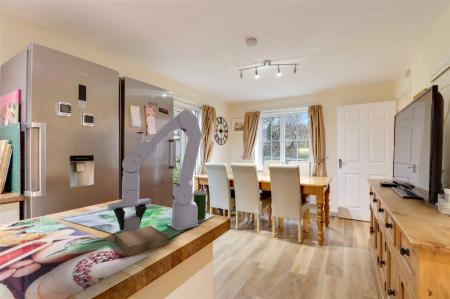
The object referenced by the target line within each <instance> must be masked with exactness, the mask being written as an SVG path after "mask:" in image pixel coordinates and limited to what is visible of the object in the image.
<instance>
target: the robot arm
mask: <svg viewBox="0 0 450 299" xmlns="http://www.w3.org/2000/svg"><path fill="white" fill-rule="evenodd" d="M176 130H181V131H183V132H184V134H185V136H186V137H187V141H186V147H185V150H184V155H183V160H182V163H181V168H180V173H179V177H178V179H176V180H177V181H176V184H175V186H174V187H173V188H172V196H173V197H174V199H173V201H172V212H171V223H167V224H166V225H167V226H168V227H170V228H172V229H174V230H176V231H179V232H180V231H183V230H186V229H187V230H188V229H190V228H194V227H197V226H199V225H200V224H199V223H198V222H199V221H198V207H197V204H196V203H195V202H194V201H193V193H194V192H193V185H194V184H193V177H194V172H195V168H196V163H197V158H198V154H199V151H200V150H199V149H200V146H201V140H202V137H203V136H202V132H201V128H200V125H199V119H198V117H197V116H196V115H195V113H193V112H192V111H191V110H189V109H188V110H187V109H185V110H182V111H181V112H180V113H179V114H177V115H175V116H174V117H173V118H171V119H169V120H168V121H167V122H166V123H165V124H164V125H162V127H161V128H160V129H159V130H158V131H157V132H156V133H155V134H154V135H153V136H152V137H151V138H150V139H144V140H140V141H138V146H136V147H135V148H134V149H133V150H130V151H129V152H128V154H129V155H127V156H125V157H124V159H123V160H122V164H121V165H122V169H123V171H122V175H123V176H122V177H121V178H122V179H121V201H116V202H112V203H107V207H106V208H107V209H106V210H107V211H109V212H111V211H113V213H114V215H115V217H116V219H117V223H118V226H119V228H118V229H119V230H120V229H121V230H124V217H125V216H126V215H125V214H126V211H125V210H124V209H127V208H128V209H129V208H134V209H135V215H136V216H137V217H139V218H140V224H141V223H142V220H143V216H144V215H145V212H146V211H147V208H148V206H149V205H152V199H151V198H140V182H141V181H140V180H141V179H140V177H141V176H140V169H141V164H145V162H146V161H148V160H149V159H150V157H152V156H153V154H154V153H156V152H157V149H158V148H157V145H159V144H160V143H161V142H162V141H163V140H164V139H165V138H166V137H168V136H169V135H170V134H171V132H174V131H176ZM147 205H148V206H147Z"/></svg>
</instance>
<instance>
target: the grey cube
mask: <svg viewBox="0 0 450 299" xmlns="http://www.w3.org/2000/svg"><path fill="white" fill-rule="evenodd" d="M139 228H141V223H140V218H139V217H137V216H136V214H131V215H125V216H124V230H121V229H120V228H119V233H122V232H126V231H130V230H135V229H139Z"/></svg>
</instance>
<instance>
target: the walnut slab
mask: <svg viewBox="0 0 450 299" xmlns="http://www.w3.org/2000/svg"><path fill="white" fill-rule="evenodd" d="M114 243H115V244H116V245H117V246H118V248H120V249H121V250H122V251H123V253H125V254H126V255H127V256H128V257H130V256H131V257H132V256H133V255H137V254H141V253H143V252H147V251H150V250H153V249H157V248H160V247H162V246H163V247H164V246H166V245H168V244H169V235H167V234H165V233H164V232H162V231H161V230H158V229H157V228H156V227H154V226H152V225H148V226H143V227H140V228H139V229H135V230H130V231H126V232H118V233H114Z"/></svg>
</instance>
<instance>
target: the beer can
mask: <svg viewBox="0 0 450 299" xmlns="http://www.w3.org/2000/svg"><path fill="white" fill-rule="evenodd" d="M192 193H193V198H192V201H194V202H195V203H196V204H197V207H198V222H205V220H206V216H207V214H206V213H207V212H206V210H207V209H206V208H207V192H206V190H203V189H202V190H201V189H197V190H193V192H192Z"/></svg>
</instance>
